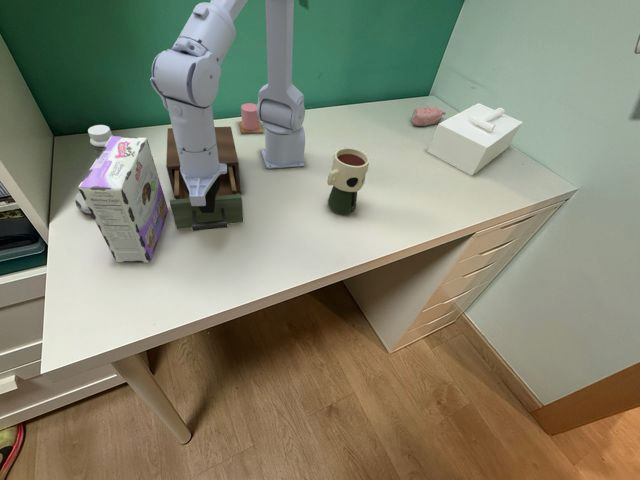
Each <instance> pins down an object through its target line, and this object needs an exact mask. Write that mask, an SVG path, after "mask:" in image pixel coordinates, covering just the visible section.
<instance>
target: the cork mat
mask: <svg viewBox="0 0 640 480" xmlns="http://www.w3.org/2000/svg"><path fill="white" fill-rule="evenodd" d="M259 125H260V127H259V128H258V129H257V130H246V129H244V128H243V127H242V120H241V121H238V127H239V130H240V131H239V132H240V134H241V135H251V134H252V135H254V134H255V135H258V134H259V135H260V134H264V130H263V126H262V123H261V121H260V120H259Z"/></svg>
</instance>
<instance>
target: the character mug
mask: <svg viewBox="0 0 640 480" xmlns="http://www.w3.org/2000/svg"><path fill="white" fill-rule="evenodd" d="M369 165H370V157H369V155H368V154H367V153H366V151H363V150H362V149H359V148H355V147H349V146H348V147H347V146H345V147H340V148H339V149H337V150H335V152H334V154H333V158H332V165H331V170H330V172H329V173H328V177H327V186H332V188H331V190H330V193H329V196H328V198H327V199H328V200H327V205H328V207H329V208H330V209H331V210H332V211H333V212H334V213H336V214H340V215H349V214H350V212H351V211H352V212H353V213H354V211H355V210H356V208H357V199H358V192H359V191H360V190H361V189H362V188H363V187H364V185H365V182H366V174H367V173H368V170H369Z"/></svg>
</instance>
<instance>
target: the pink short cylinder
mask: <svg viewBox="0 0 640 480" xmlns="http://www.w3.org/2000/svg"><path fill="white" fill-rule="evenodd" d="M240 112H241V116H240V117H241V121H242V127H243V128H244V129H246V130H257V129H258V128H259V127H260V125H259V121H260V120H259V118H258V116H257V103H256V104H255V103H251V102H248V103H247V102H246V103H243V104H241V106H240Z"/></svg>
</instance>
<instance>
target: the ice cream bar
mask: <svg viewBox="0 0 640 480" xmlns="http://www.w3.org/2000/svg"><path fill="white" fill-rule="evenodd" d="M444 115H446V112H445V111H443V110H442V109H441V108H439V107H438V106H426V107H419V108H418V107H417V108H414V110H413V112H412V116H411V123H412V124H413V126H417V127H425V126H430V125H434V124H435V125H436V124H439V123H440V120H441V119H442V117H443V116H444Z"/></svg>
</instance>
